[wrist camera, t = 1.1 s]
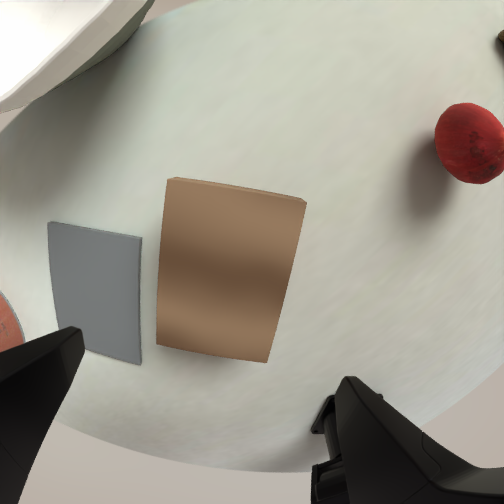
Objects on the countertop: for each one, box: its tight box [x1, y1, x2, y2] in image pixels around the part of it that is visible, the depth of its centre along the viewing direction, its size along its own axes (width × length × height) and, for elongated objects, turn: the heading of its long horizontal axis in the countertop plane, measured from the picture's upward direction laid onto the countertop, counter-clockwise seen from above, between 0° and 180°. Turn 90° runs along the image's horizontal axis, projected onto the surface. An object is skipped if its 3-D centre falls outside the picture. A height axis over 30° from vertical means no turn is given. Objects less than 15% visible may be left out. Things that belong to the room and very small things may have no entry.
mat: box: [48, 222, 142, 365], centre depth 21 cm, size 12×9×1 cm
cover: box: [156, 177, 307, 363], centre depth 16 cm, size 10×7×2 cm
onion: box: [435, 103, 504, 184], centre depth 13 cm, size 6×6×8 cm
